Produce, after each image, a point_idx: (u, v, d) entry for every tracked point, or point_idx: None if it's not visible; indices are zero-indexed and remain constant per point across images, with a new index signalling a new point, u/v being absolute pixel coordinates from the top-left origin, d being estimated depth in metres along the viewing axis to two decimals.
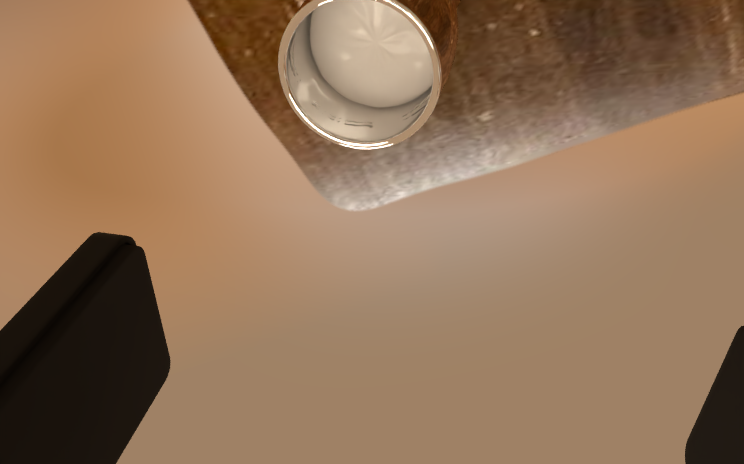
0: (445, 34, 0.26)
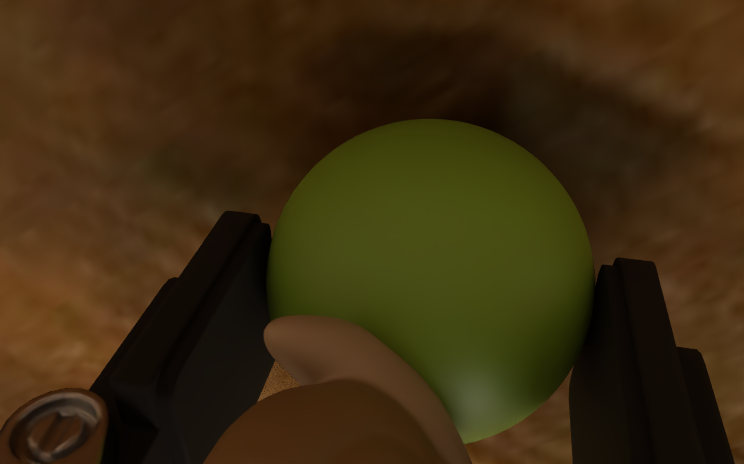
0: None
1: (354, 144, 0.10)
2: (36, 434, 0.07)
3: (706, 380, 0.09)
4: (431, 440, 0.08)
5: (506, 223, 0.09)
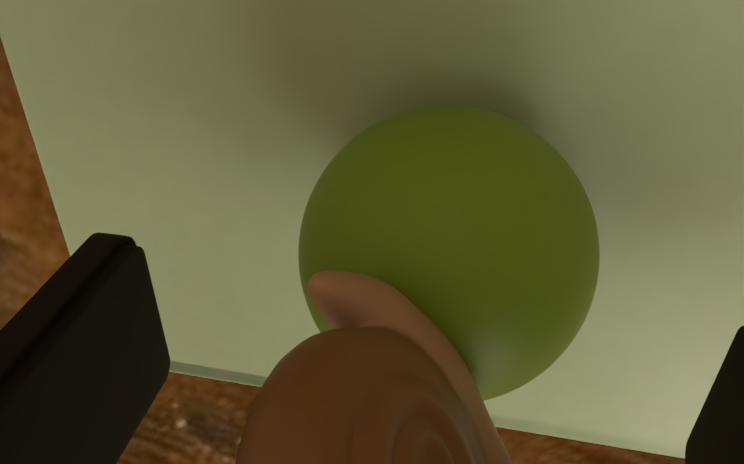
0: None
1: (381, 126, 0.11)
2: None
3: None
4: (452, 385, 0.09)
5: (520, 195, 0.10)
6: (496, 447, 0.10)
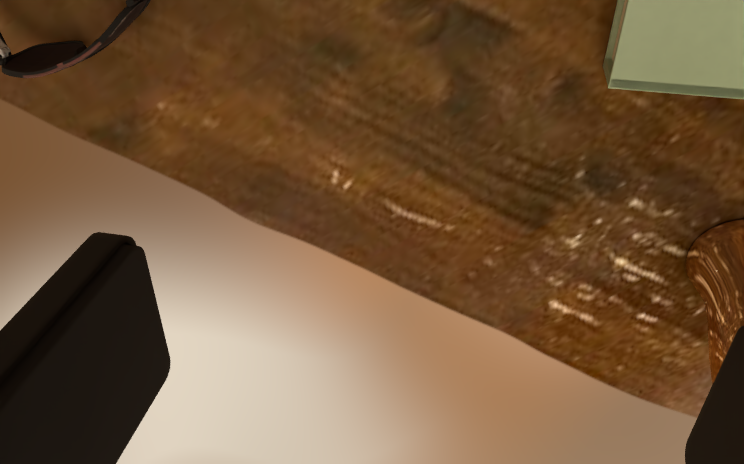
0: None
1: None
2: None
3: None
4: None
5: None
6: None
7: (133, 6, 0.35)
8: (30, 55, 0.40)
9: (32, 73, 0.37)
